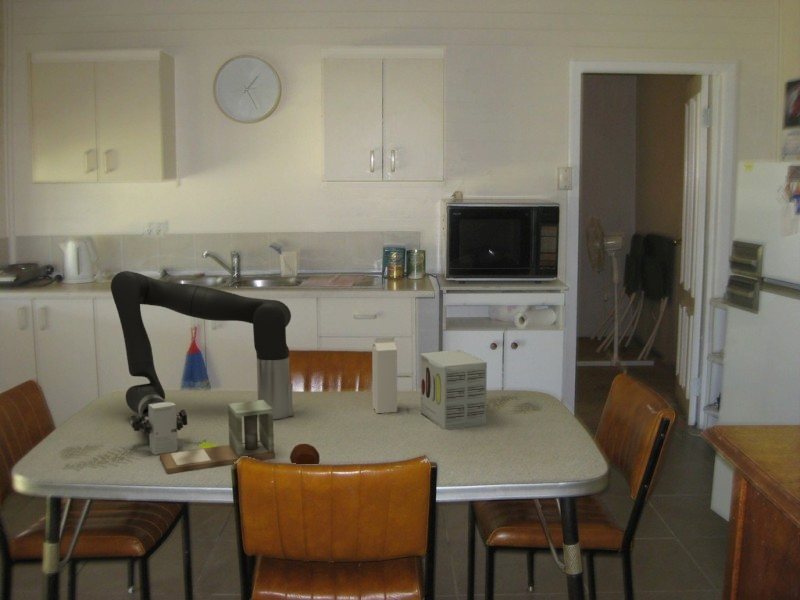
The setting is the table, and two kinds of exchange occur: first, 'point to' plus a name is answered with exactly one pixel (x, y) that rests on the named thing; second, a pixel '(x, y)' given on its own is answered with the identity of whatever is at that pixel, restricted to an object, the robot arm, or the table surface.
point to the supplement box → (453, 389)
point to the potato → (304, 454)
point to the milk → (384, 375)
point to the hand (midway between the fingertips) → (164, 428)
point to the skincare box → (163, 427)
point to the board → (231, 440)
